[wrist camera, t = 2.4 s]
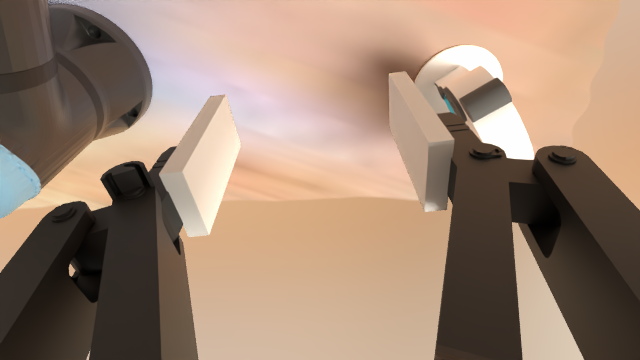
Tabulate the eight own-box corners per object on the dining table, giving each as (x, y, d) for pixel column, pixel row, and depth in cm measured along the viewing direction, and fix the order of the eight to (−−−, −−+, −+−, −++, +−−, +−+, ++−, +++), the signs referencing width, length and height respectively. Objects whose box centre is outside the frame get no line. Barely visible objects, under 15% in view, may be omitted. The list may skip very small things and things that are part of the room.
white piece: (393, 75, 43) (426, 129, 31) (481, 19, 39) (557, 54, 27) (433, 144, 49) (473, 213, 36) (512, 101, 45) (587, 160, 33)
